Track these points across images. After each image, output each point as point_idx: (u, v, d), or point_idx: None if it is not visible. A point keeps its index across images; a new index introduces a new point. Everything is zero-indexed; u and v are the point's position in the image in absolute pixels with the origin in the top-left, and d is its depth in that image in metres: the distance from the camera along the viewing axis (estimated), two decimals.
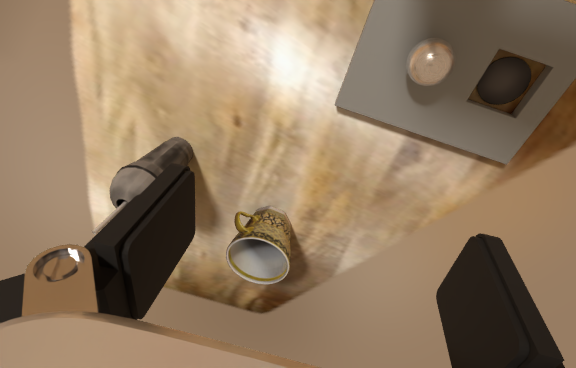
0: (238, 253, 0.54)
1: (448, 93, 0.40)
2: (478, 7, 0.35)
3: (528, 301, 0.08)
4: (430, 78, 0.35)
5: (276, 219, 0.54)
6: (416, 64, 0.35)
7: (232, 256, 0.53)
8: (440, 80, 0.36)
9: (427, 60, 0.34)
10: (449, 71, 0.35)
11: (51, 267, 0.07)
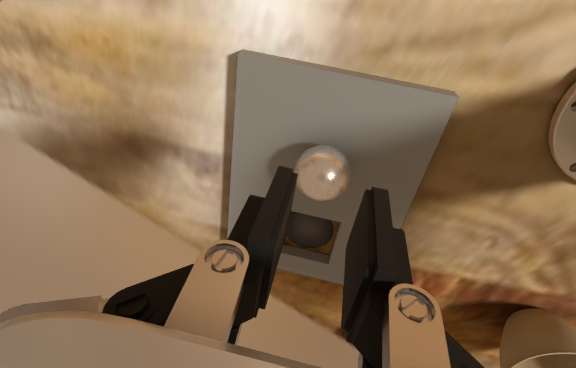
0: None
1: None
2: None
3: (388, 234, 0.09)
4: (306, 186, 0.27)
5: None
6: (320, 165, 0.27)
7: None
8: (304, 194, 0.28)
9: (327, 178, 0.27)
10: (317, 201, 0.29)
11: (216, 260, 0.08)
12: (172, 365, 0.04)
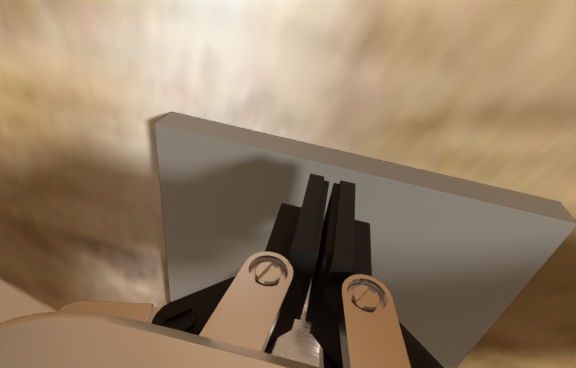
0: None
1: None
2: None
3: (349, 226, 0.09)
4: None
5: None
6: (301, 343, 0.14)
7: None
8: None
9: None
10: None
11: (260, 273, 0.08)
12: (172, 365, 0.04)
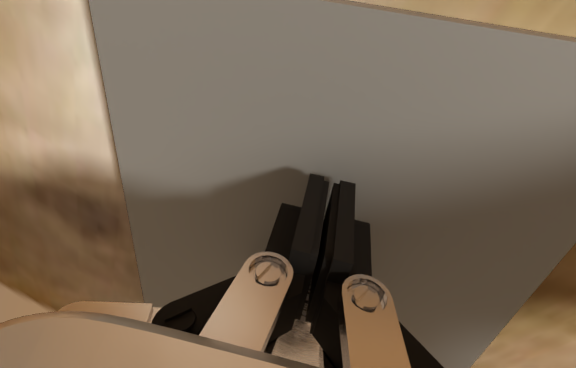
0: None
1: None
2: (448, 297, 0.15)
3: (349, 226, 0.09)
4: None
5: None
6: None
7: None
8: None
9: None
10: None
11: (260, 273, 0.08)
12: (172, 365, 0.04)
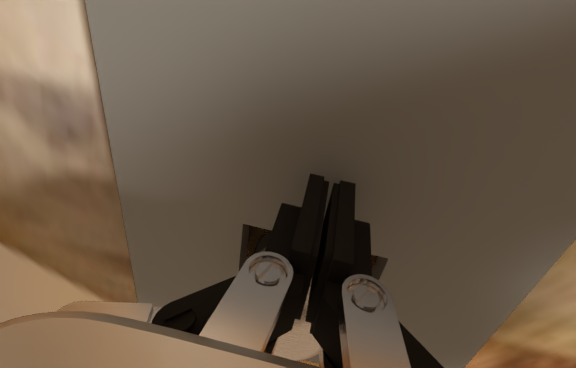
0: None
1: (253, 178, 0.13)
2: (512, 192, 0.11)
3: (349, 226, 0.09)
4: None
5: None
6: None
7: None
8: None
9: None
10: None
11: (260, 273, 0.08)
12: (172, 365, 0.04)
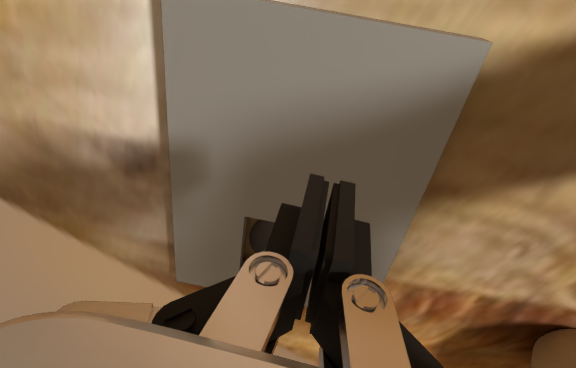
0: None
1: (250, 191, 0.24)
2: (379, 194, 0.23)
3: (349, 226, 0.09)
4: None
5: None
6: None
7: None
8: None
9: None
10: None
11: (260, 273, 0.08)
12: (172, 365, 0.04)
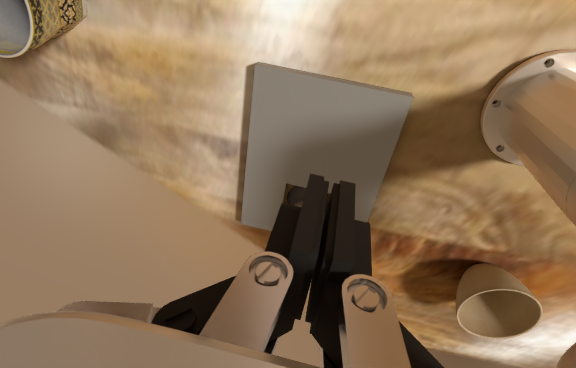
0: None
1: (290, 168, 0.44)
2: (361, 172, 0.42)
3: (349, 226, 0.09)
4: None
5: (70, 9, 0.36)
6: None
7: None
8: None
9: (302, 200, 0.46)
10: None
11: (260, 273, 0.08)
12: (172, 365, 0.04)
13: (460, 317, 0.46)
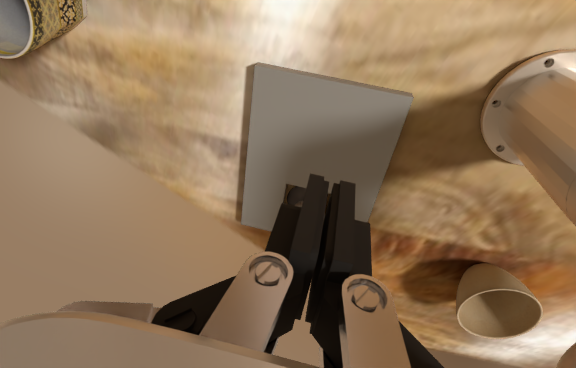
0: None
1: (290, 168, 0.44)
2: (361, 172, 0.42)
3: (349, 226, 0.09)
4: None
5: (70, 10, 0.36)
6: None
7: None
8: None
9: None
10: None
11: (260, 273, 0.08)
12: (172, 365, 0.04)
13: (460, 317, 0.46)
